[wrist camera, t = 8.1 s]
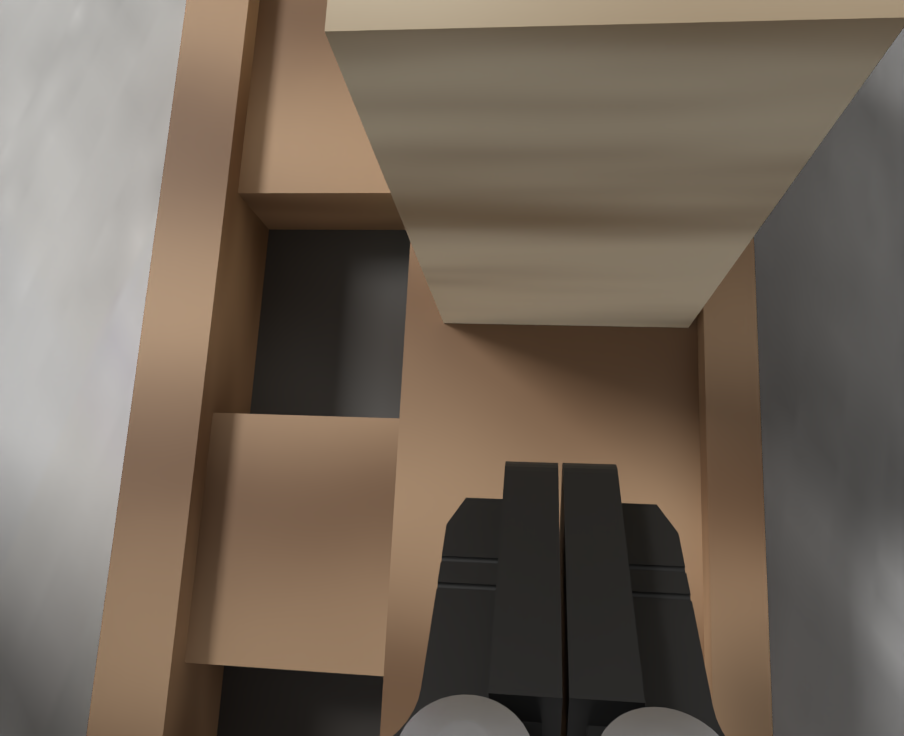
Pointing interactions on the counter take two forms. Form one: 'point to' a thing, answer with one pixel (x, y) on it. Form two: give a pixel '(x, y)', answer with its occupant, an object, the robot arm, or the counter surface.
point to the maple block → (596, 140)
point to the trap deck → (370, 422)
